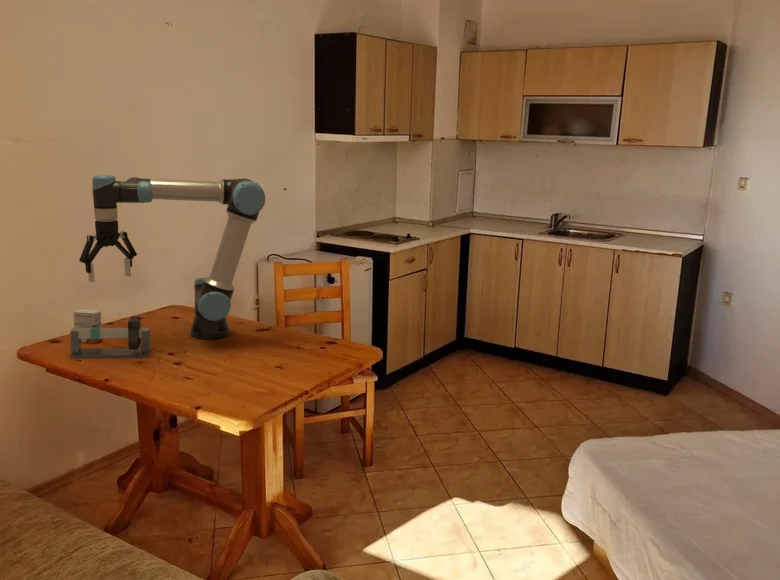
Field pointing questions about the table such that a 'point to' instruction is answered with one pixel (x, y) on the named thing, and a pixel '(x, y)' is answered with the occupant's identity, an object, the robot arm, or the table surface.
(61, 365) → the table surface
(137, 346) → the ring collar
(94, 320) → the ink box
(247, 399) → the table surface
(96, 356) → the pipe rail
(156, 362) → the table surface
